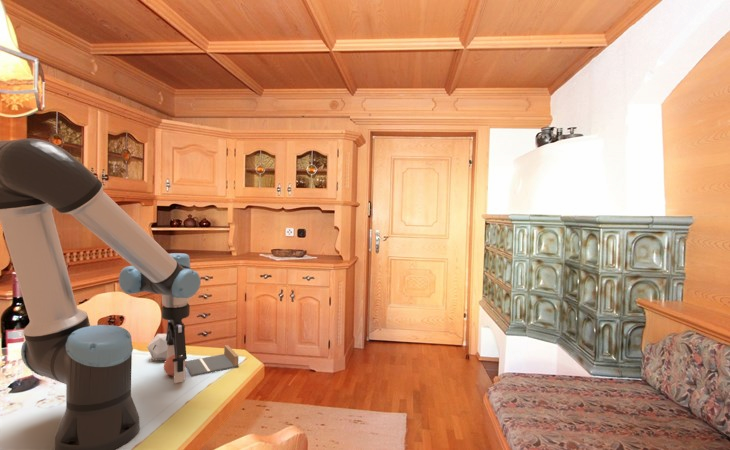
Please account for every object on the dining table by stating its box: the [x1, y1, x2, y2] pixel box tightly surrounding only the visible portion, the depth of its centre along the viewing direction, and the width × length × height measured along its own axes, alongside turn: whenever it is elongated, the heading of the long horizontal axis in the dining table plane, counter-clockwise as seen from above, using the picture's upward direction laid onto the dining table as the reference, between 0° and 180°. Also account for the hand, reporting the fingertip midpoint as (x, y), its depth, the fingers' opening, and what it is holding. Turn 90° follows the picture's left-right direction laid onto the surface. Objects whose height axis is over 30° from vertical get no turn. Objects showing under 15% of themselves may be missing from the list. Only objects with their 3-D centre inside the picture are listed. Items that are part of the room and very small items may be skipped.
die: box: [146, 333, 169, 361], centre depth 128 cm, size 8×9×10 cm
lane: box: [185, 344, 239, 377], centre depth 123 cm, size 14×12×4 cm
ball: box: [163, 355, 187, 377], centre depth 115 cm, size 6×6×6 cm
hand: (175, 373), depth 115 cm, fingers open, 13 cm apart
